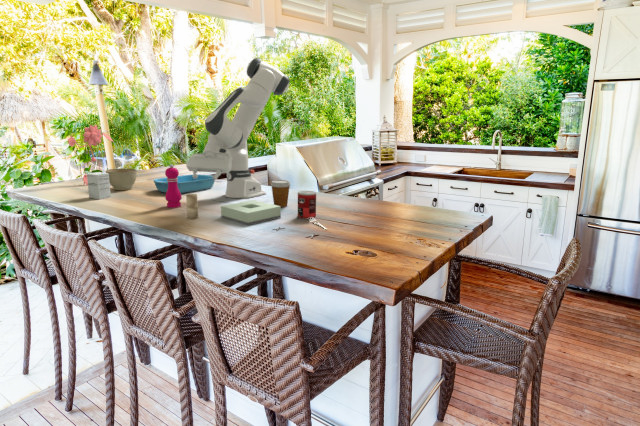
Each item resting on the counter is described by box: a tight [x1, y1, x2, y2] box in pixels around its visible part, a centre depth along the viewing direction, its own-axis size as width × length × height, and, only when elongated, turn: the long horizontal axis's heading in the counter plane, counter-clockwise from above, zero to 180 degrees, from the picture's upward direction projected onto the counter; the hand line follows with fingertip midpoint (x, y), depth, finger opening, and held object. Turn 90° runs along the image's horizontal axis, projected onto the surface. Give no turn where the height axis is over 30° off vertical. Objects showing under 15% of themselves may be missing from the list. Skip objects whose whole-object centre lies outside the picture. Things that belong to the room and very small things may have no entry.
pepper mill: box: [164, 163, 182, 209], centre depth 201 cm, size 7×7×20 cm
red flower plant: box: [67, 124, 114, 187], centre depth 252 cm, size 15×26×35 cm, turn 152°
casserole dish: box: [153, 173, 216, 194], centre depth 245 cm, size 37×22×7 cm, turn 148°
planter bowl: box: [105, 168, 138, 191], centre depth 242 cm, size 16×16×11 cm
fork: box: [308, 217, 327, 230], centre depth 172 cm, size 3×20×2 cm, turn 25°
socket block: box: [220, 199, 282, 226], centre depth 184 cm, size 18×18×5 cm
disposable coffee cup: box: [270, 179, 291, 208], centre depth 207 cm, size 10×10×12 cm
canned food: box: [297, 190, 317, 219], centre depth 186 cm, size 8×8×11 cm
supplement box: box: [86, 171, 111, 200], centre depth 218 cm, size 7×7×13 cm
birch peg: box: [185, 193, 199, 220], centre depth 181 cm, size 4×4×10 cm
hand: (204, 178), depth 190 cm, fingers open, 8 cm apart
